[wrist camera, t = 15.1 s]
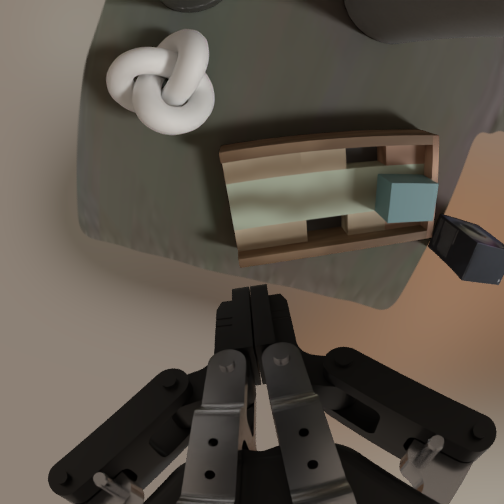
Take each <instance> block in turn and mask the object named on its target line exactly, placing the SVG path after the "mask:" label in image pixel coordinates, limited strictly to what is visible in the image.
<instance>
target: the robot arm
mask: <svg viewBox="0 0 504 504" xmlns="http://www.w3.org/2000/svg"><path fill="white" fill-rule="evenodd" d="M161 1H162V2H163V4H165V5H166V6H167V7H169V8H171V9H173V10H176V11H180V12H199V11H202V10H206V9H208V8H211V7H213V6H215V5H216V4H218V3H219V2H221V1H222V0H161ZM250 292H251V295H250ZM260 373H261V378H262V383H263V384H267V389H268V395H269V400H270V405H271V409H272V414H273V419H274V424H275V428H276V433H277V438H278V443H279V446H276V447H274V448H271V449H268V450H265V451H257V449H256V388H255V385H261V378H260ZM324 411H325V412H326V413H327V414H328V415H330V416H331V417H333V418H335V419H336V420H338V421H339V422H340V423H342V424H343V425H345V426H347V427H348V428H350V429H351V430H353V431H354V432H356V433H358V434H359V435H361V436H362V437H364V438H366V439H367V440H369V441H371V442H372V443H374V444H376V445H377V446H379V447H381V448H382V449H384V450H386V451H387V452H389V453H391V454H392V455H394V456H396V457H398V458H400V459H401V461H400V466H399V467H400V471H401V473H402V475H403V476H404V477H405V478H406V479H407V480H409V482H410V483H411V484H412V486H413V487H411V486H409V485H408V484H406V483H404V482H403V481H401V480H400V479H398V478H396V477H395V476H393V475H392V474H390V473H388V472H387V471H385V470H384V469H382V468H381V467H379V466H378V465H376V464H374V463H373V462H372V461H370V460H369V459H367V458H366V457H364V456H362V455H361V454H360V453H358V452H357V451H355V450H353V449H351V448H349V447H347V446H344V445H340V444H336V443H334V441H333V437H332V434H331V432H330V429H329V425H328V422H327V419H326V417H325V413H324ZM495 438H496V427H495V424H494V422H493V421H492V420H491V419H490V418H489V417H488V416H486V415H484V414H481V413H479V412H477V411H475V410H473V409H471V408H468V407H467V406H465V405H463V404H460V403H458V402H456V401H454V400H452V399H450V398H448V397H446V396H444V395H442V394H440V393H438V392H436V391H434V390H432V389H429V388H428V387H426V386H424V385H422V384H420V383H418V382H416V381H414V380H412V379H410V378H408V377H406V376H404V375H402V374H400V373H398V372H397V371H395V370H393V369H391V368H389V367H387V366H385V365H383V364H381V363H379V362H377V361H376V360H373V359H372V358H370V357H368V356H366V355H364V354H362V353H360V352H359V351H357V350H355V349H353V348H349V347H338V348H335V349H333V350H331V351H330V352H329V353H327V354H326V356H319V355H311V354H308V353H306V352H304V351H302V350H301V349H300V348H299V347H298V345H297V343H296V338H295V334H294V330H293V325H292V321H291V317H290V312H289V307H288V303H287V300H286V299H285V298H284V297H283V296H282V295H281V294H275V295H268V291H267V284H264V285H257V286H251V287H250V290H249V287H243V288H237V289H232V301H227V302H222V303H221V304H220V306H219V307H218V309H217V314H216V330H215V350H214V355H213V356H212V357H211V358H210V360H209V362H208V365H207V366H206V367H205V368H203V369H201V370H199V371H196V372H193V373H191V374H188V375H187V374H186V373H185V372H184V371H182V370H180V369H167V370H164V371H162V372H161V373H160V374H158V375H157V376H156V377H155V378H153V379H152V380H151V381H150V382H149V383H148V384H147V385H146V386H145V387H143V388H142V389H141V390H140V391H139V392H138V393H137V394H136V395H135V396H133V397H132V398H131V399H130V400H129V401H128V402H127V403H126V404H124V405H123V406H122V407H121V408H120V409H119V410H118V411H117V412H115V413H114V414H113V415H112V416H111V417H110V418H109V419H107V421H105V422H104V423H103V424H102V425H101V426H99V427H98V428H97V429H96V430H95V431H94V432H93V433H91V434H90V435H89V436H88V437H87V438H86V439H84V440H83V441H82V442H81V443H80V444H79V445H78V446H76V447H75V448H74V449H73V450H72V451H71V452H69V453H68V454H67V455H66V456H65V457H63V458H62V459H61V460H60V461H59V462H57V463H56V464H55V465H54V466H53V467H52V468H51V470H50V472H49V476H48V482H49V485H50V488H51V489H52V490H53V491H54V492H55V493H56V494H58V495H60V496H61V497H63V498H65V499H67V500H68V501H69V502H71V503H72V504H449V503H450V501H451V500H452V498H453V497H454V495H455V493H456V491H457V490H458V488H459V487H460V485H461V483H462V482H463V480H464V478H465V476H466V474H467V473H468V471H469V469H470V467H471V465H472V463H473V462H474V461H475V460H476V459H478V458H479V457H480V456H481V455H482V454H483V453H484V452H485V451H486V450H487V449H488V448H489V447H490V446H491V445H492V444H493V442H494V440H495ZM188 445H189V446H188ZM187 446H188V452H187V458H186V463H184V464H182V465H181V466H179V467H178V468H177V469H176V470H175V471H174V472H173V473H172V474H171V475H170V476H169V477H168V478H167V479H166V480H165V481H164V482H163V483H162V484H161V485H160V487H158V488H157V490H156V491H155V492H154V493H153V494H152V495H151V496H150V497H149V498H148V499H147V500H146V501H145V502H144V492H143V489H144V488H145V487H147V486H148V485H149V484H150V483H151V482H152V481H153V480H154V479H155V478H156V477H157V476H158V475H159V474H160V473H161V472H162V471H163V470H164V469H165V468H166V467H167V466H168V465H169V464H170V463H171V462H172V461H173V460H174V459H175V458H176V457H177V456H178V455H179V454H180V453H181V452H182V451H183V450H184V449H185V448H186V447H187Z"/></svg>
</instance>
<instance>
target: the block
mask: <svg viewBox="0 0 504 504" xmlns="http://www.w3.org/2000/svg"><path fill="white" fill-rule="evenodd" d="M437 192H438V183H436V182H435V181H433V180H431V179H429V178H428V177H426V176H424V175H420V174H378V177H377V190H376V202H375V211H376V212H377V213H378V214H379V215H380V216H381V217H382V218H383V219H384V220H385V221H386V222H387V223H399V222H419V221H433V217H434V211H435V205H436V199H437Z"/></svg>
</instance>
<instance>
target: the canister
mask: <svg viewBox="0 0 504 504" xmlns="http://www.w3.org/2000/svg"><path fill="white" fill-rule="evenodd" d="M345 7H346V9H347V12H348V14H349V17H350V18H351V19H352V21H353V22H354V23H355V25H356V26H357V27H358V28H359V29H360V30H361V31H363V32H364V33H365V34H366V35H367V36H369V37H371V38H373V39H375V40H377V41H379V42H383V43H387V44H399V43H408V42H416V41H424V40H434V39H447V38H464V37H504V0H345Z"/></svg>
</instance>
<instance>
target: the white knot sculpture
mask: <svg viewBox="0 0 504 504" xmlns="http://www.w3.org/2000/svg"><path fill="white" fill-rule="evenodd" d="M208 60H209V49H208V42H207V40H206V38H205V37H204V36H203V35H202V34H201V33H200V32H198V31H196V30H192V29H182V30H179V31H177V32H174V33H172V34H171V35H169V36H168V37H166V38H165V39H164V40H163V41H162V42H161V43H160V44H159V45H158V46H157V48H156V47H139V48H134V49H131V50H128V51H126V52H124V53H122V54H121V55H120V56H118V57H117V58H116V59H115V60H114V61H113V63H112V64H111V66H110V67H109V70H108V72H107V76H106V82H107V88H108V91H109V93H110V95H111V97H112V98H113V99H114V100H115V101H116V102H117V103H119V104H120V105H121V106H122V107H124V108H126V109H127V110H129V111H132V112H134V113H136V115H137V116H138V118H139V120H140V121H141V122H142V123H143V124H144V125H146V126H147V127H148V128H150V129H152V130H154V131H155V132H158V133H161V134H167V135H179V134H183V133H187V132H190V131H193V130H195V129H196V128H198V127H200V126H201V125H202V124H203V123H204V122H205V121H206V119H207V118H208V117H209V115H210V114H211V112H212V109H213V107H214V101H215V98H214V90H213V86H212V83H211V81H210V79H209V77H208V76H207V74H206V73H205V71H206V68H207V65H208ZM138 75H139V76H138ZM136 76H138V78H137V80H136V82H134V80H133V79H134V77H136ZM165 78H168V79H169V80H168V81H167V83H166V85H165V86H164V88H163V89H161V88H162V85H163V82H164V80H165ZM187 100H188V102H187V103H186V104H185V105H183V104H184V103H185V102H186V101H187ZM182 105H183V106H182Z"/></svg>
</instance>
